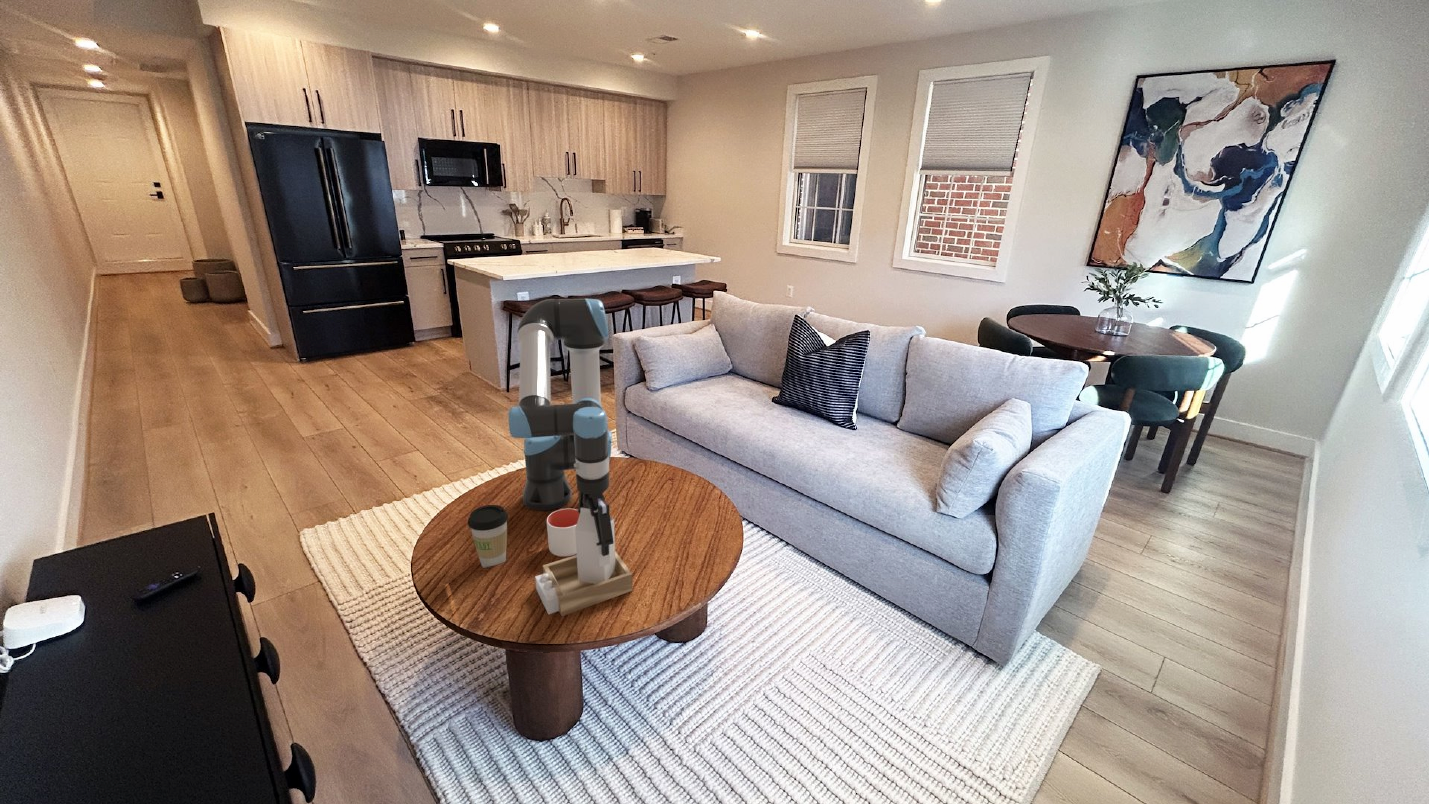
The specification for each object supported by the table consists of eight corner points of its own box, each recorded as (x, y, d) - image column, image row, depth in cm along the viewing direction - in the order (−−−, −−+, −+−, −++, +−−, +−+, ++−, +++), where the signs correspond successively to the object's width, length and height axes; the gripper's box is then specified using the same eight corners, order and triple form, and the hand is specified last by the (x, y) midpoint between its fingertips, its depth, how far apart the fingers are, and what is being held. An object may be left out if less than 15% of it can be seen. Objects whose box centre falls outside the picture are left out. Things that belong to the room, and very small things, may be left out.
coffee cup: (473, 554, 151) (466, 507, 145) (511, 547, 154) (506, 500, 149) (474, 576, 142) (466, 527, 137) (514, 568, 146) (509, 519, 141)
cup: (592, 542, 158) (591, 512, 154) (573, 563, 149) (571, 531, 145) (562, 535, 161) (560, 505, 157) (541, 554, 152) (538, 523, 148)
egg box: (536, 589, 137) (534, 572, 135) (552, 584, 139) (551, 567, 137) (548, 614, 129) (546, 596, 127) (565, 608, 131) (563, 590, 129)
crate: (544, 585, 140) (542, 565, 138) (611, 563, 149) (610, 544, 147) (561, 619, 129) (560, 598, 127) (632, 593, 139) (632, 574, 136)
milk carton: (605, 586, 135) (602, 519, 129) (578, 581, 137) (574, 515, 130) (615, 568, 142) (613, 504, 135) (589, 564, 143) (586, 500, 137)
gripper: (561, 457, 136) (566, 533, 144) (594, 498, 118) (598, 583, 126) (590, 450, 140) (594, 526, 148) (627, 490, 122) (628, 573, 130)
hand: (596, 552), depth 137 cm, fingers closed on milk carton, 10 cm apart
